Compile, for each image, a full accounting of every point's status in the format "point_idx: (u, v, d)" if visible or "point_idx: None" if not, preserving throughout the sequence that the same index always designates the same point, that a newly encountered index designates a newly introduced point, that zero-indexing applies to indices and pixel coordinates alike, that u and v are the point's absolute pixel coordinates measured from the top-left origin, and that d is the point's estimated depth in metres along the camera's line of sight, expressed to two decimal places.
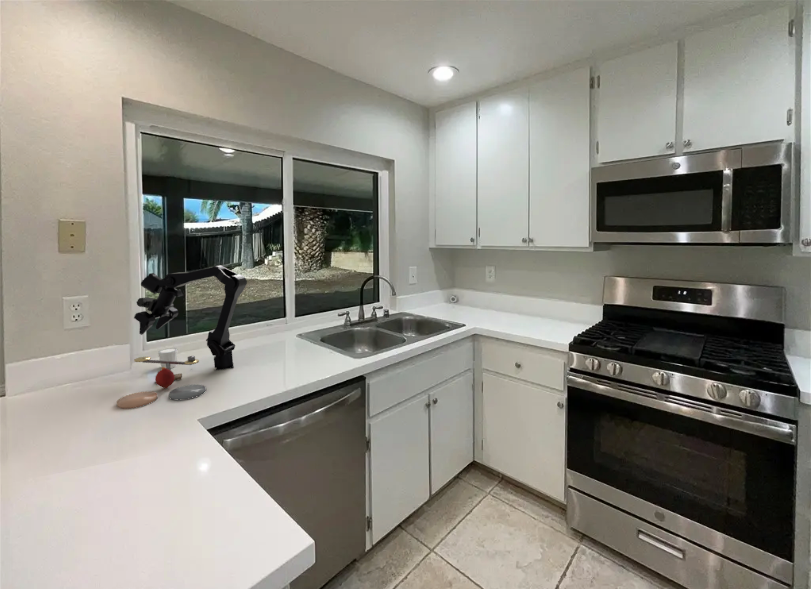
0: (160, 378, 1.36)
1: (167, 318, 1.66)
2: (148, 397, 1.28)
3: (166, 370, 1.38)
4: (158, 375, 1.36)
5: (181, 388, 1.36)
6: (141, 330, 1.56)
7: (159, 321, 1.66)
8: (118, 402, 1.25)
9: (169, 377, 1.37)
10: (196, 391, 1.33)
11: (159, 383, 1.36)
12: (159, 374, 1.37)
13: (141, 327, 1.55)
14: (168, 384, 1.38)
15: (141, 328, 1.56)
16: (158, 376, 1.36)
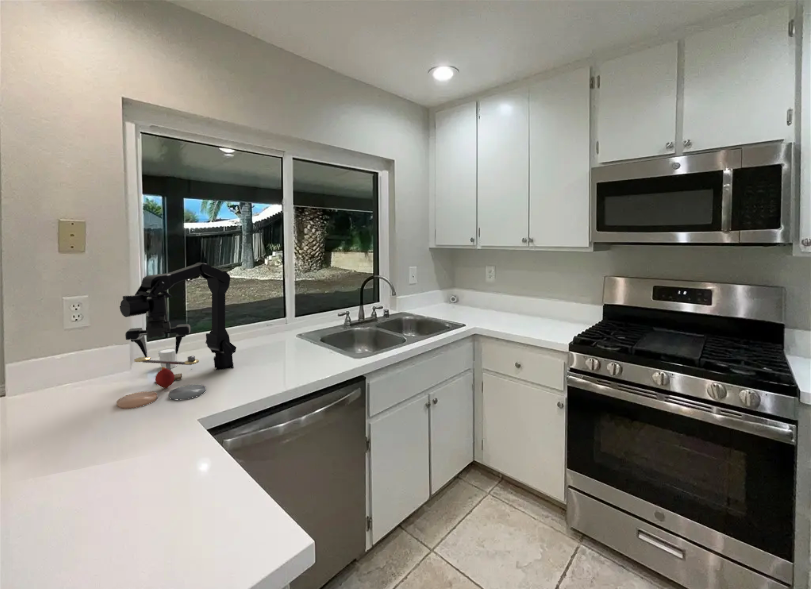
0: (160, 378, 1.36)
1: (144, 338, 1.36)
2: (148, 397, 1.28)
3: (166, 370, 1.38)
4: (158, 375, 1.36)
5: (181, 388, 1.36)
6: (178, 348, 1.40)
7: (144, 347, 1.35)
8: (118, 402, 1.25)
9: (169, 377, 1.37)
10: (196, 391, 1.33)
11: (159, 383, 1.36)
12: (159, 374, 1.37)
13: (179, 344, 1.39)
14: (168, 384, 1.38)
15: (179, 345, 1.39)
16: (158, 376, 1.36)
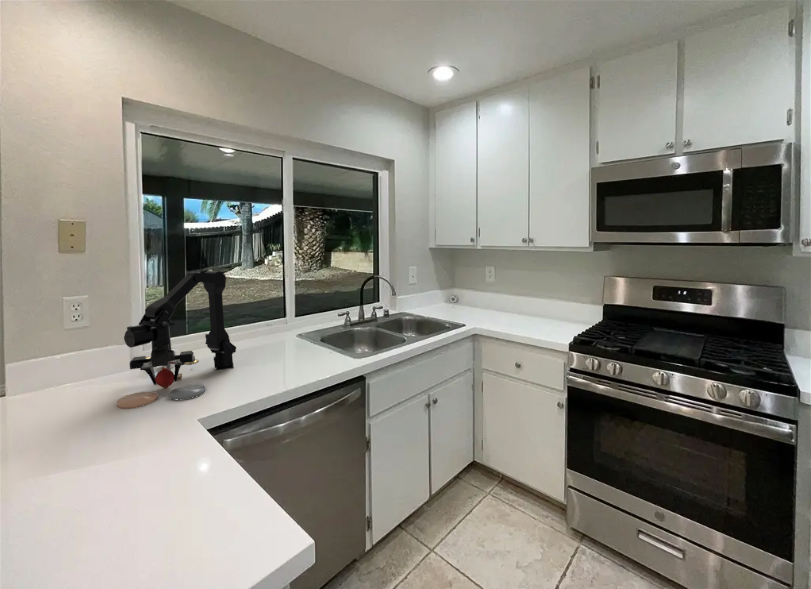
0: (160, 378, 1.36)
1: None
2: (148, 397, 1.28)
3: (166, 370, 1.38)
4: (158, 375, 1.36)
5: (181, 388, 1.36)
6: (177, 375, 1.40)
7: (153, 375, 1.37)
8: (118, 402, 1.25)
9: (169, 377, 1.37)
10: (196, 391, 1.33)
11: (159, 383, 1.36)
12: (159, 374, 1.37)
13: (178, 372, 1.40)
14: (168, 384, 1.38)
15: None
16: (158, 376, 1.36)
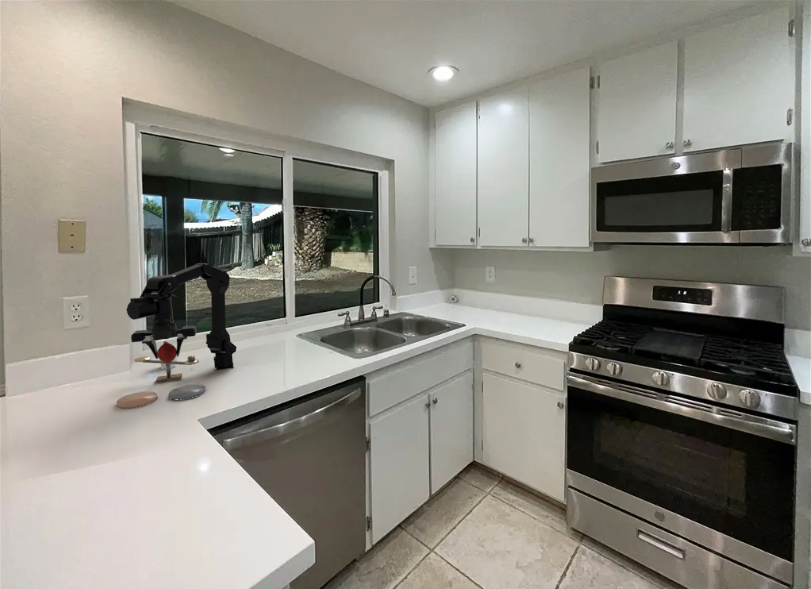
0: (162, 352, 1.33)
1: (154, 339, 1.36)
2: (148, 397, 1.28)
3: (168, 344, 1.35)
4: (160, 349, 1.34)
5: (181, 388, 1.36)
6: (179, 350, 1.38)
7: (155, 349, 1.34)
8: (118, 402, 1.25)
9: (171, 352, 1.35)
10: (196, 391, 1.33)
11: (161, 357, 1.34)
12: (161, 348, 1.34)
13: (180, 347, 1.37)
14: (170, 359, 1.35)
15: (180, 348, 1.37)
16: (160, 350, 1.34)
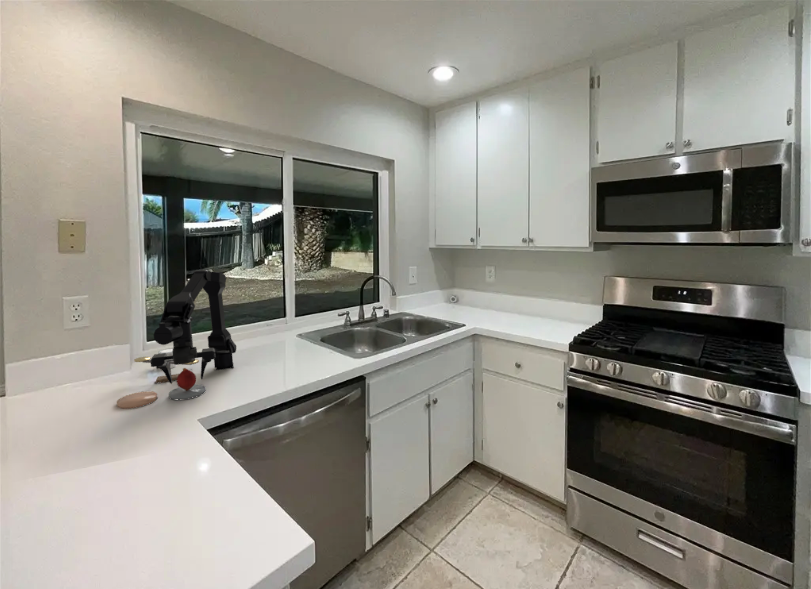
0: (182, 379, 1.31)
1: (168, 363, 1.32)
2: (148, 397, 1.28)
3: (188, 371, 1.33)
4: (179, 376, 1.31)
5: (181, 388, 1.36)
6: (203, 372, 1.36)
7: (169, 373, 1.31)
8: (118, 402, 1.25)
9: (191, 379, 1.32)
10: (196, 391, 1.33)
11: (181, 385, 1.31)
12: (181, 375, 1.31)
13: (204, 369, 1.35)
14: (190, 386, 1.32)
15: (204, 370, 1.35)
16: (180, 378, 1.31)
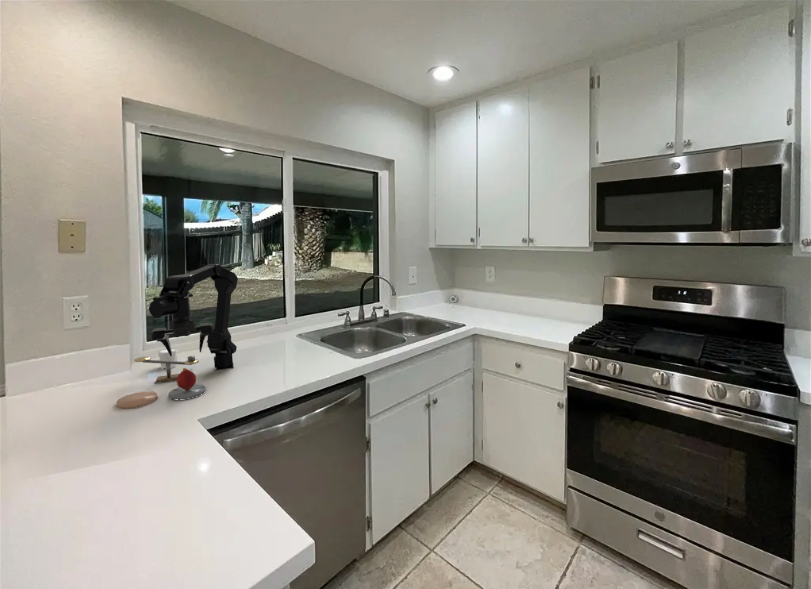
0: (182, 379, 1.31)
1: (168, 337, 1.39)
2: (148, 397, 1.28)
3: (188, 371, 1.33)
4: (179, 377, 1.31)
5: (181, 388, 1.36)
6: None
7: (169, 346, 1.38)
8: (118, 402, 1.25)
9: (191, 379, 1.32)
10: (196, 391, 1.33)
11: (181, 385, 1.31)
12: (180, 375, 1.31)
13: (202, 343, 1.42)
14: (190, 386, 1.32)
15: (202, 343, 1.43)
16: (180, 378, 1.31)
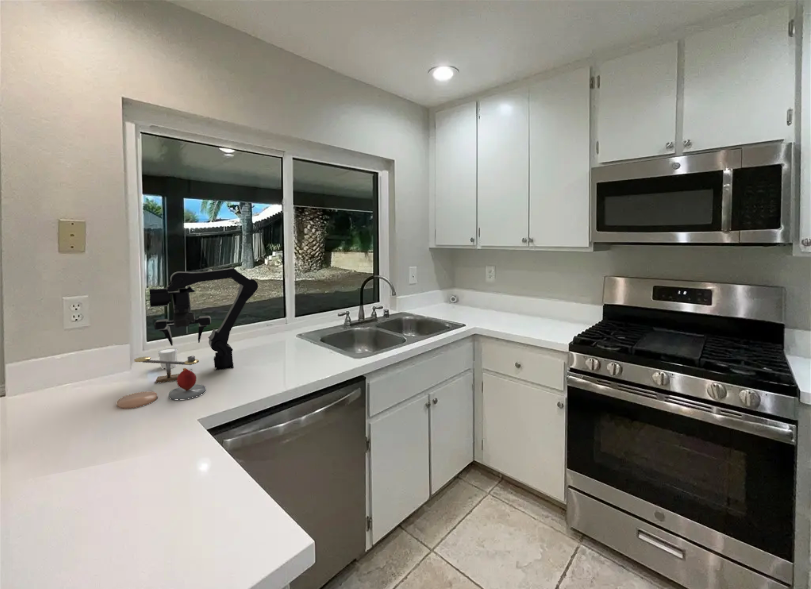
0: (182, 379, 1.31)
1: (169, 328, 1.51)
2: (148, 397, 1.28)
3: (188, 371, 1.33)
4: (180, 376, 1.31)
5: (181, 388, 1.36)
6: (200, 337, 1.55)
7: (170, 336, 1.50)
8: (118, 402, 1.25)
9: (191, 379, 1.32)
10: (196, 391, 1.33)
11: (181, 385, 1.31)
12: (181, 375, 1.31)
13: None
14: (190, 386, 1.32)
15: None
16: (180, 377, 1.31)
